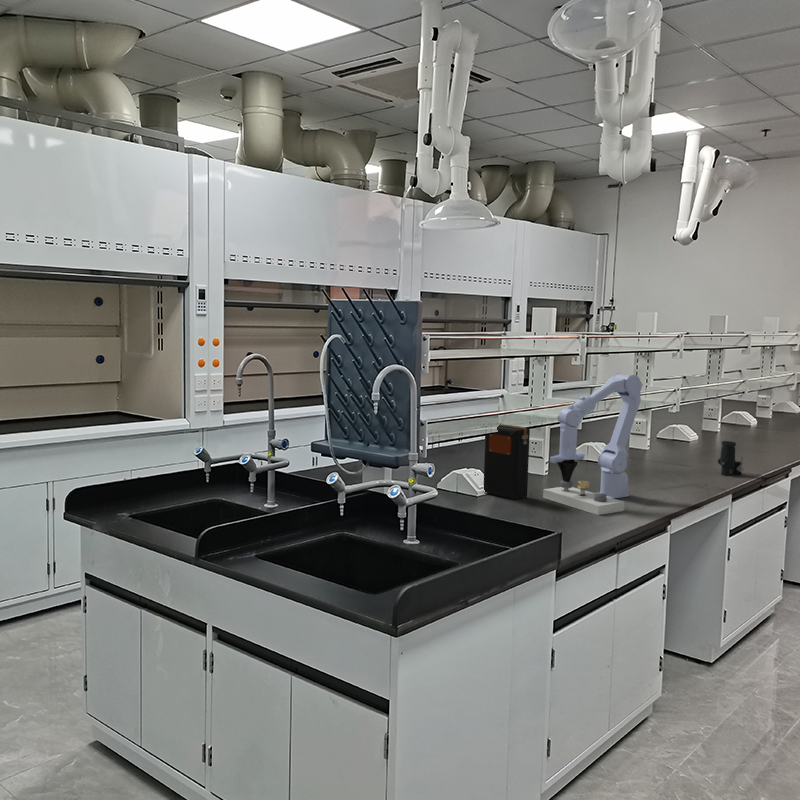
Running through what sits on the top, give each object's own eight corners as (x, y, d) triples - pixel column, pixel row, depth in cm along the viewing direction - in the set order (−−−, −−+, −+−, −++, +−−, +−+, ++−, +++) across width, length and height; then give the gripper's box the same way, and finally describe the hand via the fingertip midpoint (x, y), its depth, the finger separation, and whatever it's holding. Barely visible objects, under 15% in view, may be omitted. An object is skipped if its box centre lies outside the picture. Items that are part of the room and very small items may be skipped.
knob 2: (599, 506, 248) (600, 492, 247) (608, 509, 244) (609, 495, 244) (591, 508, 245) (591, 493, 245) (599, 510, 242) (600, 496, 242)
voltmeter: (529, 497, 260) (532, 427, 257) (515, 501, 253) (518, 429, 251) (494, 489, 270) (496, 422, 268) (479, 493, 264) (482, 424, 262)
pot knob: (582, 494, 254) (583, 480, 253) (591, 496, 251) (591, 482, 250) (574, 495, 252) (574, 481, 251) (582, 497, 249) (583, 483, 248)
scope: (746, 442, 305) (733, 444, 299) (743, 475, 306) (731, 477, 300) (727, 439, 311) (714, 441, 305) (724, 471, 313) (712, 474, 306)
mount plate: (568, 494, 266) (568, 485, 265) (623, 510, 244) (624, 501, 243) (543, 497, 260) (543, 489, 259) (598, 515, 237) (598, 505, 237)
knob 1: (565, 493, 261) (566, 479, 260) (574, 495, 258) (574, 481, 257) (557, 494, 259) (558, 480, 258) (565, 496, 255) (566, 482, 255)
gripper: (560, 446, 249) (559, 485, 251) (591, 443, 257) (589, 481, 258) (546, 443, 255) (544, 481, 257) (577, 440, 263) (575, 477, 264)
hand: (566, 481), depth 258 cm, fingers closed, pressing on knob 1
